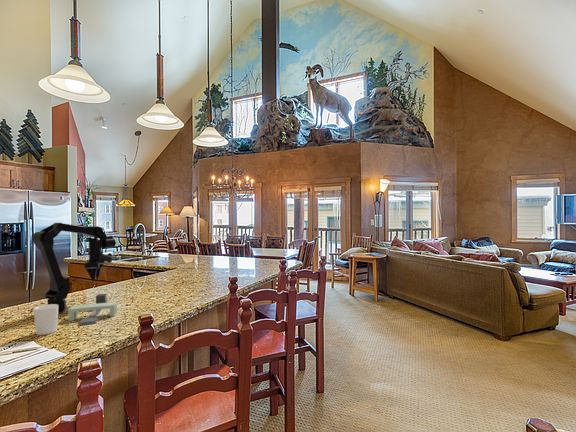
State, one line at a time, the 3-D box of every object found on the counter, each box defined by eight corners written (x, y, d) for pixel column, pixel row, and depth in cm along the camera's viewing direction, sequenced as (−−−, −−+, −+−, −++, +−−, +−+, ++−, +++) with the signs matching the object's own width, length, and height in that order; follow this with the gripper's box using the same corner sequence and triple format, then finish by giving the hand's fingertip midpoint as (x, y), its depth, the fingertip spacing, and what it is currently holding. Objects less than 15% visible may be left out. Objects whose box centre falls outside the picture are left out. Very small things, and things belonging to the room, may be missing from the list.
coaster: (79, 326, 138) (79, 322, 138) (82, 322, 143) (82, 318, 143) (95, 324, 140) (95, 320, 140) (98, 320, 145) (98, 316, 145)
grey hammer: (87, 318, 147) (87, 305, 147) (98, 306, 167) (97, 294, 167) (97, 317, 148) (97, 304, 148) (106, 305, 168) (106, 293, 168)
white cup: (53, 327, 135) (52, 303, 135) (62, 330, 131) (62, 305, 131) (30, 333, 129) (29, 308, 129) (39, 337, 125) (39, 310, 125)
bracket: (68, 320, 144) (68, 309, 144) (72, 316, 149) (72, 305, 149) (114, 316, 149) (114, 305, 149) (116, 312, 155) (116, 301, 155)
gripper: (108, 250, 170) (109, 281, 170) (115, 247, 187) (115, 274, 187) (83, 251, 166) (84, 282, 166) (92, 248, 184) (93, 276, 184)
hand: (95, 278), depth 176 cm, fingers open, 9 cm apart
